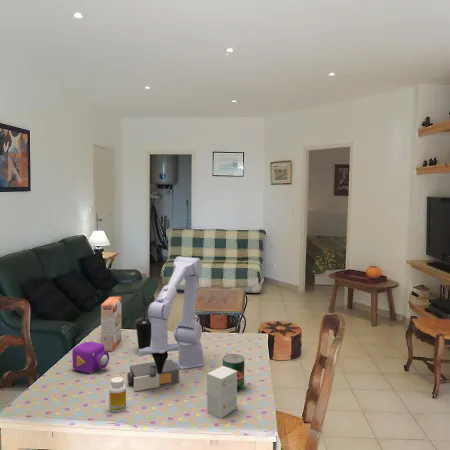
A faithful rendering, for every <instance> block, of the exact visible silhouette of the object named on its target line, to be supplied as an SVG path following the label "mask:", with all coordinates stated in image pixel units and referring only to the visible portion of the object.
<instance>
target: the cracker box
mask: <svg viewBox="0 0 450 450" xmlns="http://www.w3.org/2000/svg"><path fill="white" fill-rule="evenodd" d="M120 342H122V297H121V296H109V297H108V298H107V299H106V300H104V302H103V303H101V305H100V343H101V344H103V345H104V350H105V351H106V352H114V351H115V349H116V348H117V347H118V345H119V344H121V343H120Z"/></svg>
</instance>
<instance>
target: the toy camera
mask: <svg viewBox="0 0 450 450" xmlns="http://www.w3.org/2000/svg"><path fill="white" fill-rule="evenodd" d="M71 351H72V353H71V354H72V369H73V370H74V371H76V372H80V373H86V374H92V373H94V372H96V371H97V370H99V369H105V368H106V367H107V366H108V364H109V361H110V354H109V351H105V350H104V345H103V344H101V342H95V341H91V340H89V339H88V340H87V339H86V340H85V341H83V342H82V343H80V344H77V345H75V346H74V347H73V348H72V350H71Z"/></svg>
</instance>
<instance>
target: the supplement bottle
mask: <svg viewBox="0 0 450 450" xmlns="http://www.w3.org/2000/svg"><path fill="white" fill-rule="evenodd" d="M124 381H125V379H124V378H123V377H121V376H118V377H117V376H115V377H113V378H111V379H110V385H109V387H108V409H109V411H110V412H114V413H119V412H120V413H121V412H123V411H124V410H126V407H127V387H126V385H125V383H124Z"/></svg>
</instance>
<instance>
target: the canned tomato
mask: <svg viewBox="0 0 450 450" xmlns="http://www.w3.org/2000/svg"><path fill="white" fill-rule="evenodd" d="M245 359H246V358H245V356H243V355H241V354H239V353H230V354H225V355H224V356H223V357H222V366H225V367H228V368H231V369H233V370H236V371H237V393H240V391H241V392H242V391H244V389H245V361H246V360H245Z"/></svg>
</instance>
